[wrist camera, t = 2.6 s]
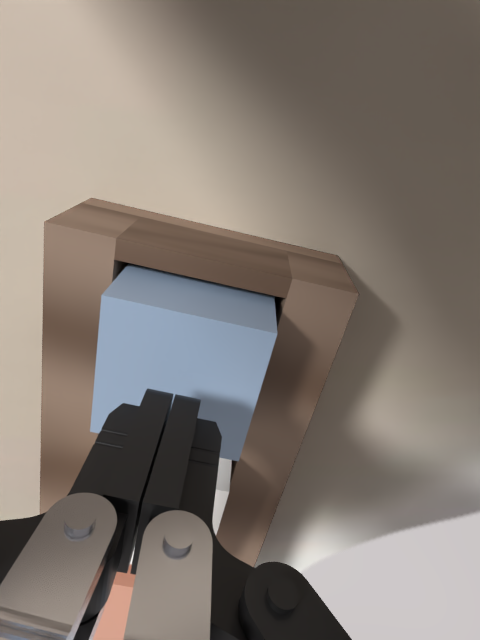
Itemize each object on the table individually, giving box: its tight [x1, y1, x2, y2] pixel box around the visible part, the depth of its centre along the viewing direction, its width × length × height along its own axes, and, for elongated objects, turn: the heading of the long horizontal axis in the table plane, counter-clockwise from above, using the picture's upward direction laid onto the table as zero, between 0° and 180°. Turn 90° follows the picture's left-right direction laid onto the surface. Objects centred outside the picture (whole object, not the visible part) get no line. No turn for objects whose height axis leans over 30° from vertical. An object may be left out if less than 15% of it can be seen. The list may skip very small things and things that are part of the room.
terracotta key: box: [93, 564, 136, 640], centre depth 20 cm, size 5×5×3 cm
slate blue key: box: [90, 263, 277, 461], centre depth 14 cm, size 5×5×3 cm
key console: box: [40, 198, 359, 567], centre depth 19 cm, size 20×10×4 cm, turn 167°
